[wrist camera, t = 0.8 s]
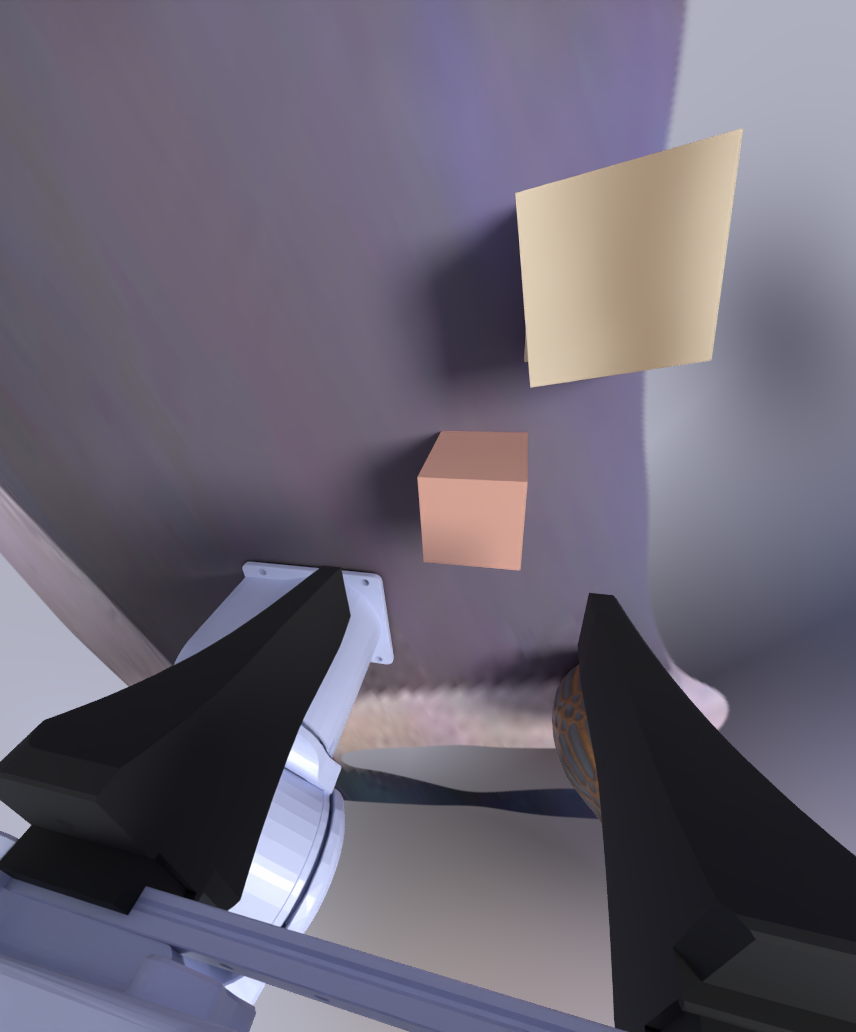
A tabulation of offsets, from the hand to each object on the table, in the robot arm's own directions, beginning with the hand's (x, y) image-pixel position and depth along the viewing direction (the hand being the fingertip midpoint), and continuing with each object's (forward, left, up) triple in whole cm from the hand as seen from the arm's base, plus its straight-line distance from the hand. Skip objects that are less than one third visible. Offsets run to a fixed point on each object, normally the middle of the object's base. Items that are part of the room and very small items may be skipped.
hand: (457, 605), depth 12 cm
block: (0, 0, -10) cm, 10 cm away
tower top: (+4, +8, -7) cm, 11 cm away
